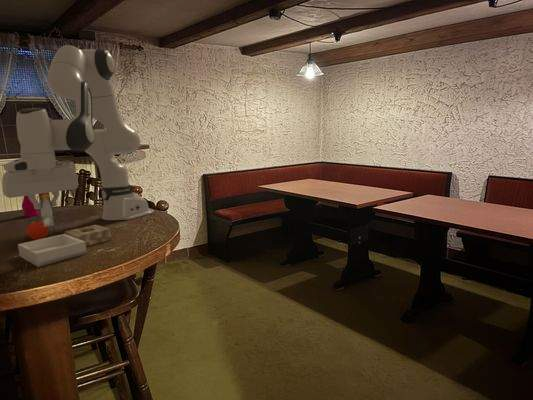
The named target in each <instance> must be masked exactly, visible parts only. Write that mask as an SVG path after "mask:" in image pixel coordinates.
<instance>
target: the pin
mask: <svg viewBox="0 0 533 400" xmlns="http://www.w3.org/2000/svg"><path fill="white" fill-rule="evenodd" d="M37 196H38V203H41V207H42V208H41V209H40V215H41V221H42V223H43V226H48V227H52V226H54V225H55V222H54V221H55V220H54V214H53V207H51V201H52V199H51V192H49V193H42V194H37Z"/></svg>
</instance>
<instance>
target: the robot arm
mask: <svg viewBox="0 0 533 400" xmlns="http://www.w3.org/2000/svg"><path fill="white" fill-rule="evenodd" d="M115 69H116V63H115V60H114V56H113V55H112V53H110V51H108V49H102V48H96V49H95V48H90V49H89V48H87V49H86V48H84V49H79V48H78V47H76V46H74V45H68V44H66V45H62V46H60V47H59V48H58V49H57V51H56V52H55V54H54V55H53V58H52V60H51V62H50V66H49V69H48V72H47V83H48V85H49V87H50V89H51V90H52V91H53V92H54V93H55V94H57V95H58V96H60V97H61V98H64V99H66V100H69V101H70V100H71V101H74V102H75V116H73V117H72V118H69V119H52V118H51V117H49V114H48V112H47V109H46V108H43V107H29V108H28V107H27V108H21V109H20V110H18V111H17V112H16V123H15V124H16V133H17V139H18V142H19V144H20V153H19V155H20V157H19V158H17V159H14V160H11V161H9V162H6V163H4V164H3V169H4V171H5V172H4V173H3V175H2V179H1V180H2V181H1V184H2V186H1V187H2V192H3V196H5V197H6V198H8V199H10V198H11V199H12V198H19V197H24V196H28V198H29V199H30V200H31V202H32V203H34V208H35V209H38V210H39V209H40V210H41V208H42V207H41V203H39V202H38V203H37V202H36V200H37V196H36V195H38V194H42V193H51V194H52V199H51V207H52V208H53V207H57V206H58V204H57V201H58V199H59V196H60V192H63V191H64V192H65V191H70V190H77V189H78V187H79V186H80V184H79V180H78V175H77V173H76V172H77V168H76V164H75V163H74V162H73V161H71V160H62V161H61V160H59V161H57V160H56V154H55V151H71V150H72V151H83V152H85V153H86V154H88V155H89V156H90V157H91V158H92V159H93V160H94V161H95V163H96V165H97V167H98V169H99V173H100V179H101V196H102V199H103V207H102V208H103V212H102V217H101V219H102V220H105V221H120V220H121V221H124V220H126V221H127V220H128V221H129V220H133V219H136V218H139V217H140V218H141V217H144V216H147V215H150V214H155V210H154V209H152V208H149V204H148V202H147V199H146V198H144V197H142V196H140V195H139V194H137V193H136V192H135V191H136V190H137V189H138V185H135V184H134V185H131V184H130V183H129V174H128V168H127V167H126V165H124V164H123V163H121V162H119V161H118V159H116V155H126V154H127V155H128V154H132V153H135V152H138V150H139V149H140V146H141V138H140V135H139V134H138V132H137V131H136V130H134V129H133V128H131V126H129V125H128V124H127V123H126V121H125V120H124V119H123V117H122V115H121V113H120V109H119V107H118V101H117V99H116V97H117V96H116V93H115V89H114V86H113V82H112V80H111V77H112V76H113V75H114V73H115V71H116V70H115ZM93 119H94V120H95V121H97V122H100V123H101V125H103V127H104V128H102V129H94V124H93ZM34 198H36V200H35V199H34Z"/></svg>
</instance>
